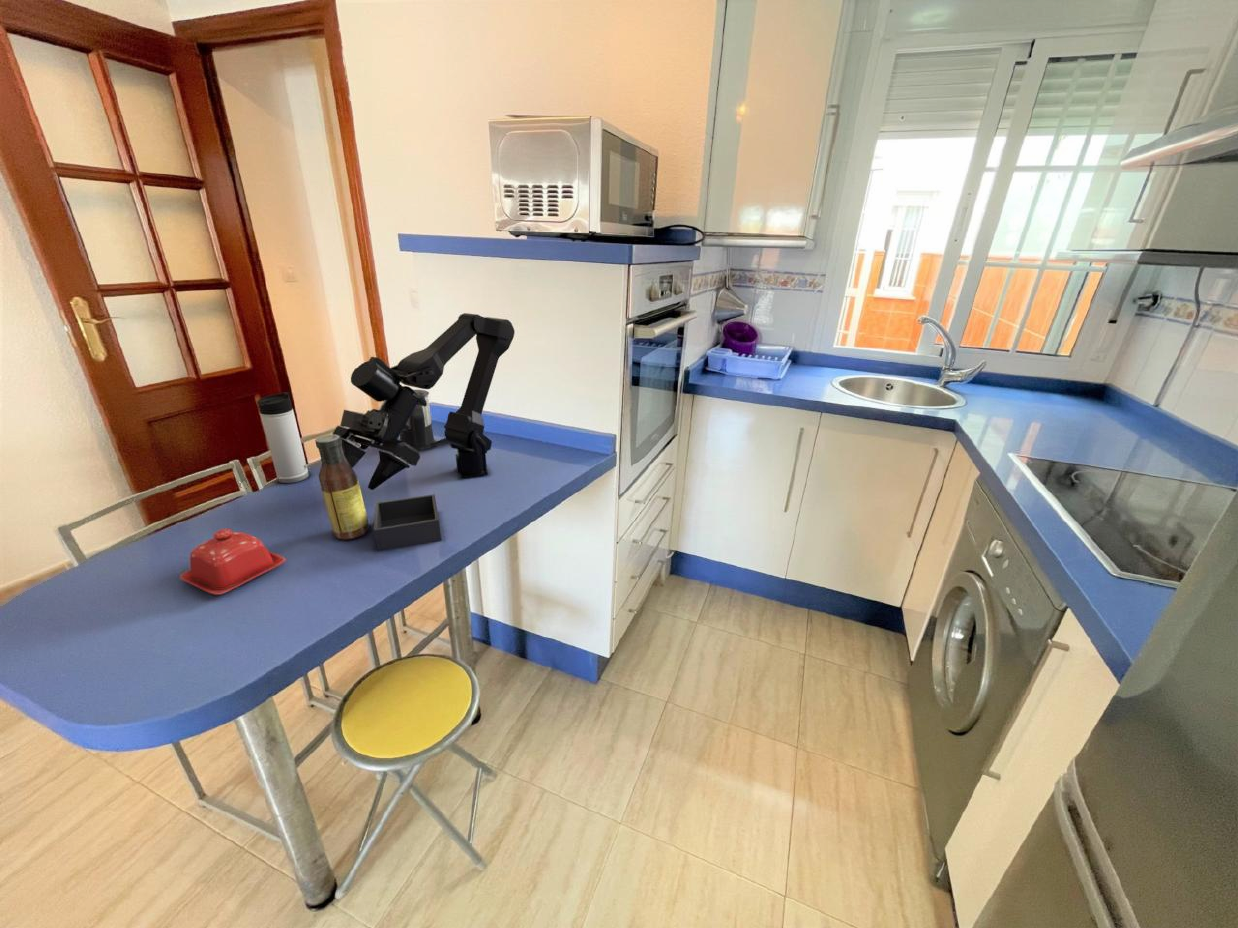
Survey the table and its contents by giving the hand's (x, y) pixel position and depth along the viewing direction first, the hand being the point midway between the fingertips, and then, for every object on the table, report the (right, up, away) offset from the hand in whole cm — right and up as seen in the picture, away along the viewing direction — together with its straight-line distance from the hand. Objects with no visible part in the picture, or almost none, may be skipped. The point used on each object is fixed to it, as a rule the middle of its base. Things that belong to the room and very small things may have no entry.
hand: (354, 483), depth 96 cm
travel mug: (-26, 0, +23) cm, 35 cm away
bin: (+9, -10, +3) cm, 14 cm away
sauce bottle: (-2, -10, +2) cm, 10 cm away
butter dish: (-14, -15, -11) cm, 24 cm away
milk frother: (-1, +9, +45) cm, 45 cm away
